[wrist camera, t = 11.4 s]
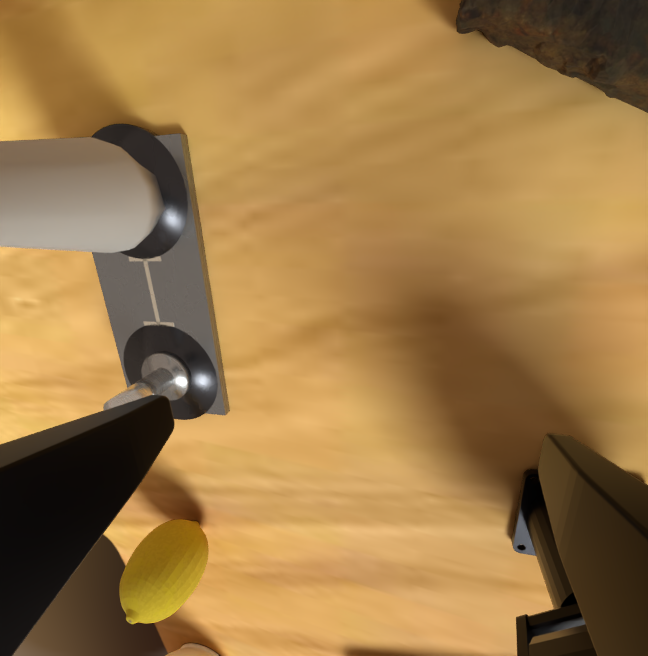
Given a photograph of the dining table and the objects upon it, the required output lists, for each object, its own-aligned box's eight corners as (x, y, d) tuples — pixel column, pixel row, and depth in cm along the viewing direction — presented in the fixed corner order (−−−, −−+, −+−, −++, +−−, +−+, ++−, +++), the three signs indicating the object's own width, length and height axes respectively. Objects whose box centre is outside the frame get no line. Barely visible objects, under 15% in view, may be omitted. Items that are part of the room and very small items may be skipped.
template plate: (231, 420, 26) (226, 425, 26) (139, 410, 28) (134, 414, 28) (184, 119, 20) (177, 116, 19) (69, 132, 22) (60, 130, 21)
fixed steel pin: (195, 398, 25) (147, 441, 21) (153, 393, 26) (98, 435, 22) (187, 352, 24) (133, 387, 20) (142, 349, 25) (82, 383, 21)
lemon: (220, 555, 32) (162, 660, 25) (166, 530, 33) (94, 626, 25) (229, 513, 30) (169, 616, 22) (171, 488, 30) (94, 580, 23)
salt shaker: (92, 231, 23) (-258, 266, 11) (93, 133, 21) (-349, 45, 9) (173, 258, 22) (-110, 329, 10) (182, 160, 20) (-166, 104, 8)
